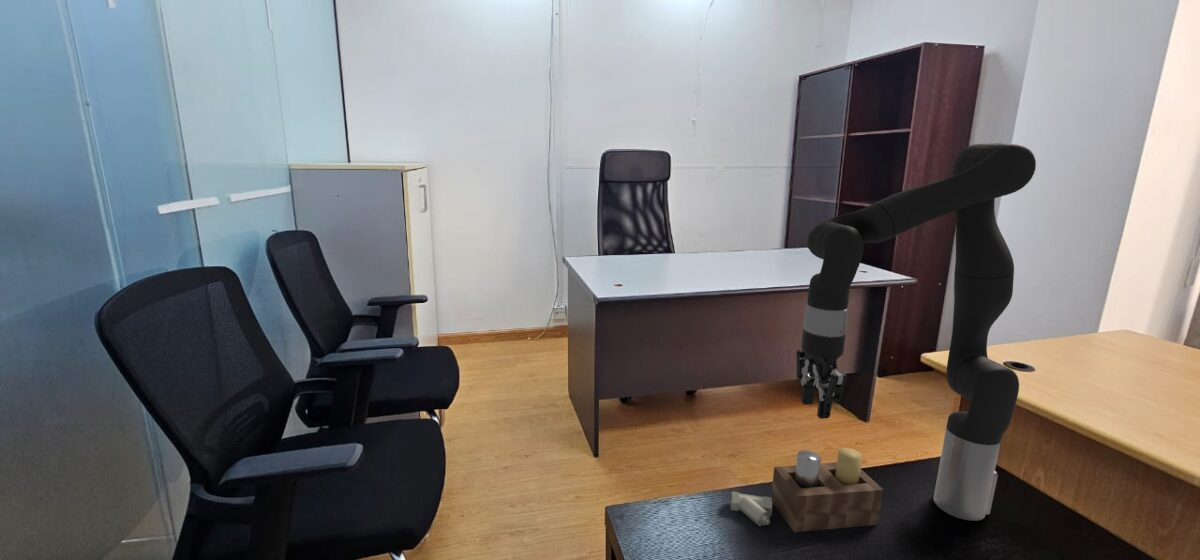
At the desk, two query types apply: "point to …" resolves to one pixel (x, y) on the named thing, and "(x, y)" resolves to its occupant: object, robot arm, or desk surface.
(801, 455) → the steel peg
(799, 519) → the socket block
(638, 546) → the desk surface
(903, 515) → the desk surface
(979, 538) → the desk surface
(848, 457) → the mustard peg
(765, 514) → the pipe fitting
